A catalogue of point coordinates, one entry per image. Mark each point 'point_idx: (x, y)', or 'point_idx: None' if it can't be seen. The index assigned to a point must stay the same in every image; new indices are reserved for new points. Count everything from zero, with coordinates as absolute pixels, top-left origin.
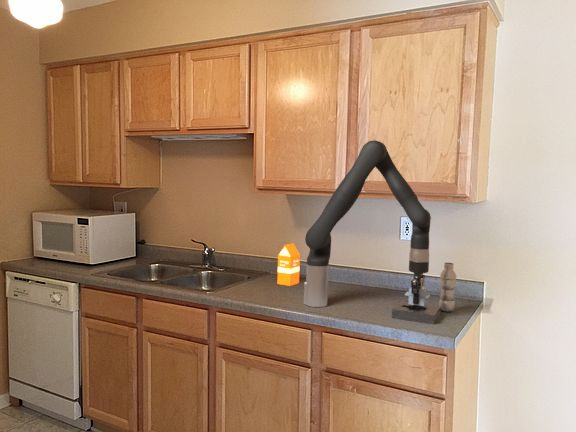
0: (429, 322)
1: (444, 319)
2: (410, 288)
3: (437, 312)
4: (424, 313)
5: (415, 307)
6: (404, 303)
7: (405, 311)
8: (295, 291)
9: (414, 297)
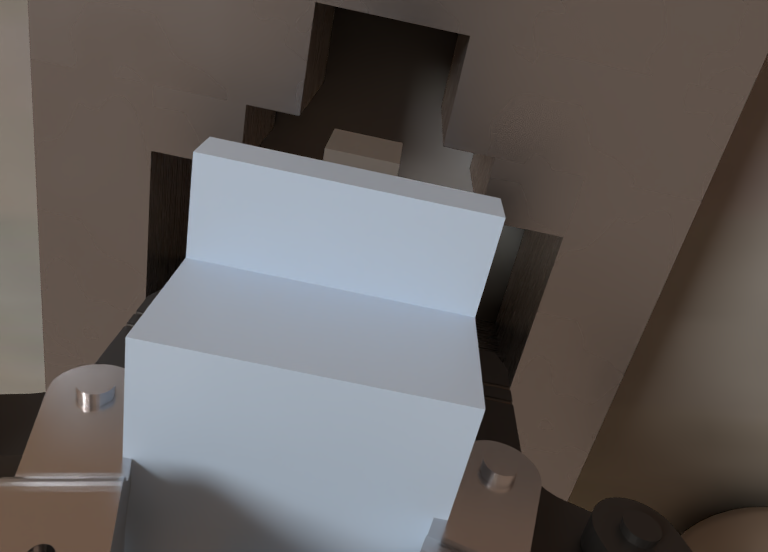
0: None
1: None
2: (257, 378)
3: None
4: None
5: (546, 245)
6: (606, 59)
7: (36, 98)
8: None
9: (110, 361)
